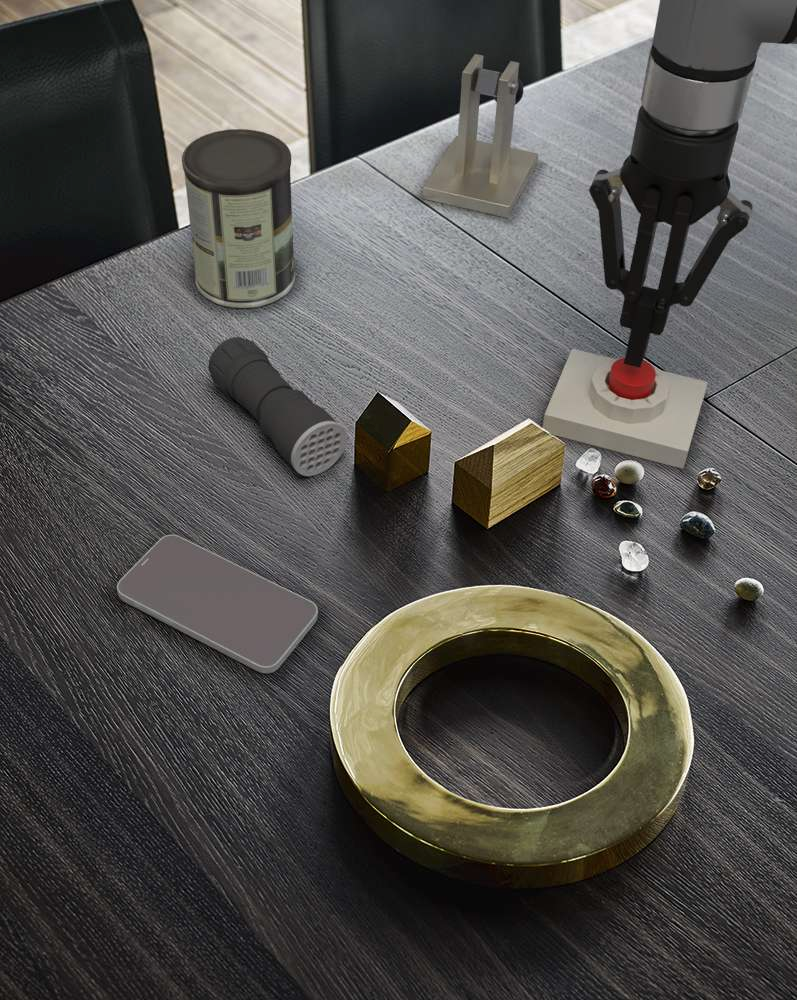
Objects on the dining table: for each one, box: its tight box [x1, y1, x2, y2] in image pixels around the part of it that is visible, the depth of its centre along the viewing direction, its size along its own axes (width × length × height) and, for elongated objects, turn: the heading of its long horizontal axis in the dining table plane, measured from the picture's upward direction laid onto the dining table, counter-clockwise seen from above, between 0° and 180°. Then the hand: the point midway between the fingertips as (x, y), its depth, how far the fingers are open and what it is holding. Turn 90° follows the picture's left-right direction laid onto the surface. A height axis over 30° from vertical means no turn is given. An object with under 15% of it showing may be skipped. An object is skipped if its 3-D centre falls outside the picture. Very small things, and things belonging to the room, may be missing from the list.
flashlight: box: [208, 336, 348, 477], centre depth 111 cm, size 15×5×5 cm, turn 36°
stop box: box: [542, 348, 709, 470], centre depth 114 cm, size 13×10×4 cm
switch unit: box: [422, 53, 539, 219], centre depth 138 cm, size 12×10×14 cm
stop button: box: [608, 357, 656, 400], centre depth 112 cm, size 4×4×2 cm
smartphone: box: [116, 534, 319, 674], centre depth 98 cm, size 7×1×15 cm
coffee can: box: [181, 128, 296, 309], centre depth 123 cm, size 10×10×14 cm
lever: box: [475, 68, 525, 106], centre depth 139 cm, size 13×4×4 cm, turn 161°
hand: (635, 356), depth 111 cm, fingers closed
